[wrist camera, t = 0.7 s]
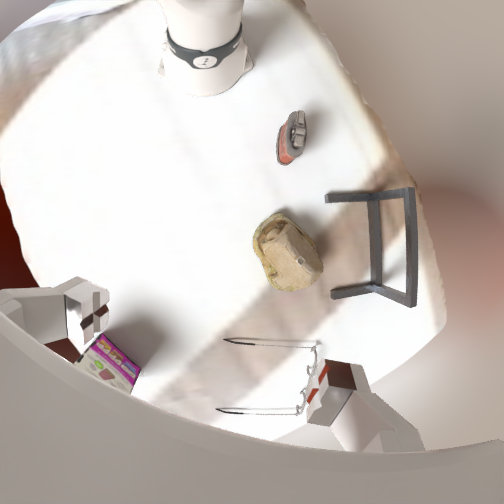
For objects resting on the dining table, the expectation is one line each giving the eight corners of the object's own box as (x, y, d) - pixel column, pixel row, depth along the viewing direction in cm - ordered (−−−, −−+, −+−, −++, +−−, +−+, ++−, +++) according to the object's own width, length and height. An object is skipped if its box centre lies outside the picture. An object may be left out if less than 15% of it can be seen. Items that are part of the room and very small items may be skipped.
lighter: (292, 166, 49) (310, 154, 39) (274, 164, 49) (288, 150, 39) (295, 127, 49) (312, 108, 39) (278, 124, 48) (292, 103, 38)
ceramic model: (327, 262, 52) (351, 270, 42) (284, 300, 52) (299, 317, 42) (283, 204, 50) (299, 199, 40) (236, 243, 50) (241, 248, 40)
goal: (324, 195, 51) (360, 187, 37) (372, 193, 52) (414, 187, 38) (330, 297, 53) (364, 319, 39) (376, 289, 54) (416, 306, 41)
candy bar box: (90, 345, 47) (55, 384, 31) (102, 331, 48) (66, 369, 31) (129, 381, 49) (107, 429, 33) (142, 369, 49) (121, 417, 33)
